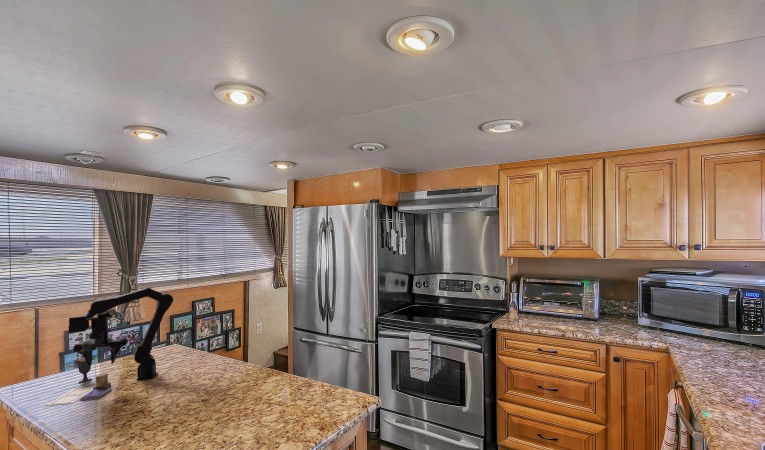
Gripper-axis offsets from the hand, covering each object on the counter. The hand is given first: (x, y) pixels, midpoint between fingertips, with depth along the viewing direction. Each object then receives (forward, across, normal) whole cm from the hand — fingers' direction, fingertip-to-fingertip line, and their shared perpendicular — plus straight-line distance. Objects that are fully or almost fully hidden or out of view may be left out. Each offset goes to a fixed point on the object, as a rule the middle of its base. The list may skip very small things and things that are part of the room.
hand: (101, 364), depth 158 cm
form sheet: (+10, -8, -5) cm, 14 cm away
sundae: (+11, -14, +11) cm, 21 cm away
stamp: (+11, 0, 0) cm, 11 cm away
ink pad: (+10, +2, -7) cm, 13 cm away
